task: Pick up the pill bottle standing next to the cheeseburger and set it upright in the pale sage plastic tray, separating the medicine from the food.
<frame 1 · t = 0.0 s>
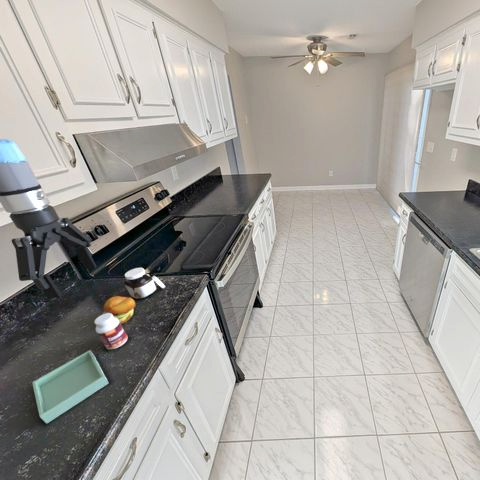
hand: (75, 281, 70), 28 cm above the worktop, tool pointing down, fingers open, 13 cm apart
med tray: (73, 386, 72), on the worktop
cheeseburger: (122, 318, 97), on the worktop
pill bottle: (117, 343, 86), on the worktop
spread jar: (150, 292, 110), on the worktop
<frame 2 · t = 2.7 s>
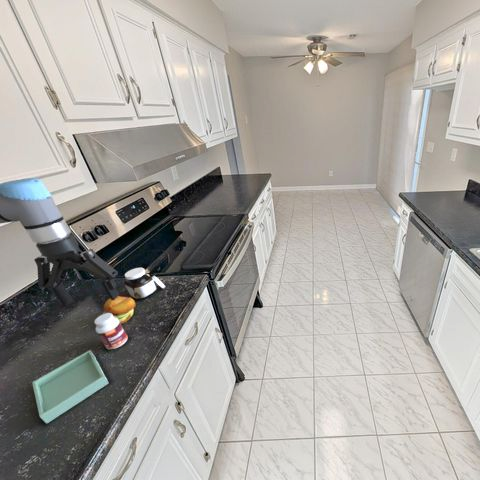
hand: (92, 300, 77), 19 cm above the worktop, tool pointing down, fingers open, 13 cm apart
nothing on the worktop moved.
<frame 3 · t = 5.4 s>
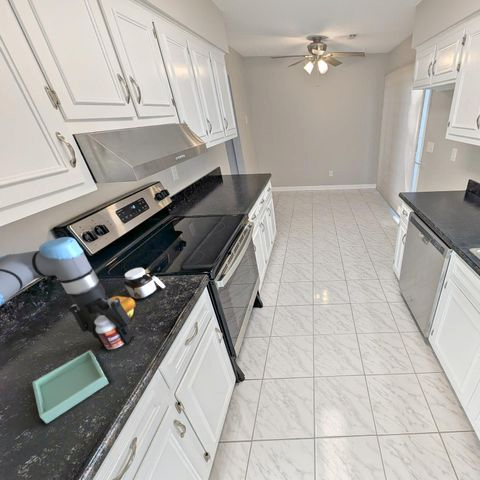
hand: (117, 341, 86), 0 cm above the worktop, tool pointing down, fingers closed on pill bottle, 6 cm apart
pill bottle: (117, 343, 86), on the worktop, touching gripper
everything else where it was.
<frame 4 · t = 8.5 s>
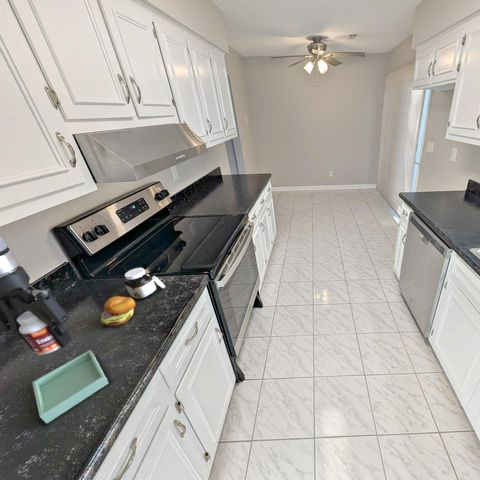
hand: (52, 344, 67), 15 cm above the worktop, tool pointing down, fingers closed on pill bottle, 6 cm apart
pill bottle: (53, 346, 68), point 14 cm above the worktop, touching gripper
everything else where it was.
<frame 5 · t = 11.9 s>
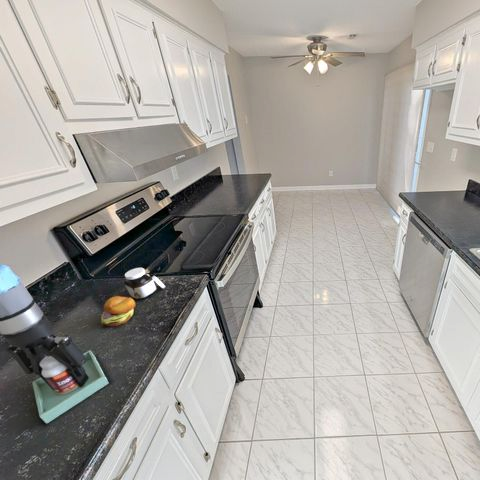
hand: (71, 383, 72), 1 cm above the worktop, tool pointing down, fingers closed on pill bottle, 6 cm apart
pill bottle: (72, 385, 72), resting on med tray, touching gripper
everything else where it was.
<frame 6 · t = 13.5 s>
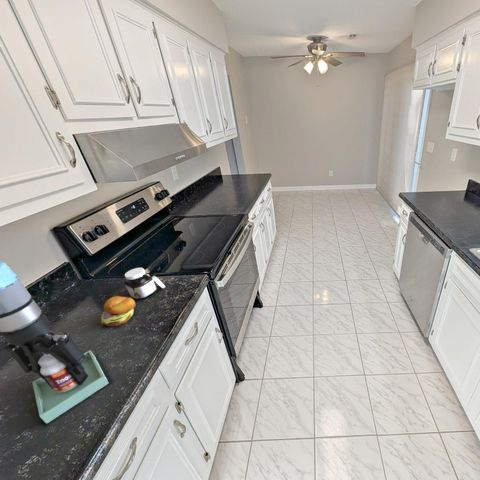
hand: (70, 382, 72), 2 cm above the worktop, tool pointing down, fingers closed on pill bottle, 6 cm apart
pill bottle: (71, 383, 72), point 1 cm above the worktop, touching gripper
everything else where it was.
when the fingers open (2 cm above the worktop, at t = 17.5 s): pill bottle stays where it is, resting on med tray.
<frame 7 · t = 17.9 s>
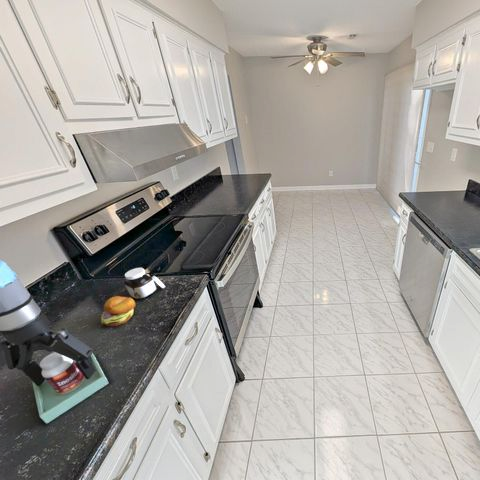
hand: (67, 378, 71), 4 cm above the worktop, tool pointing down, fingers open, 12 cm apart
pill bottle: (72, 385, 72), resting on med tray
everything else where it was.
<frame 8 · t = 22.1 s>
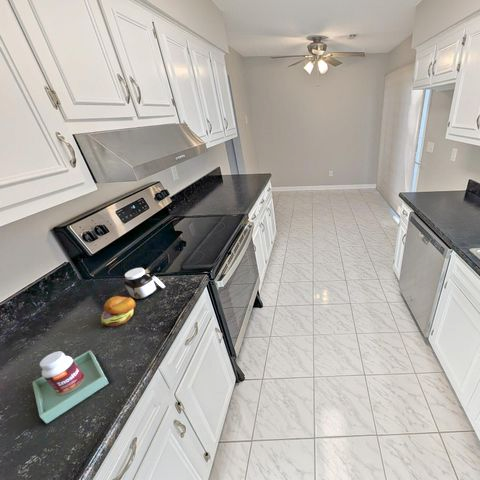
nothing on the worktop moved.
at the end: pill bottle inside the target area in the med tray (0.1 cm from its centre), point 0.4 cm above the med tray's base; pill bottle tilted 0°; cheeseburger moved 0.2 cm from its start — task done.
